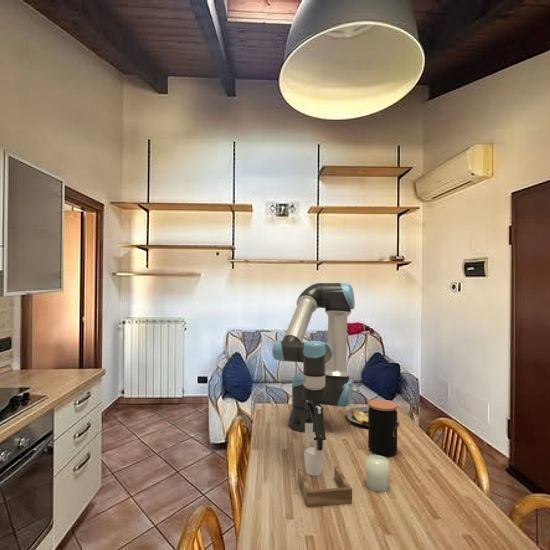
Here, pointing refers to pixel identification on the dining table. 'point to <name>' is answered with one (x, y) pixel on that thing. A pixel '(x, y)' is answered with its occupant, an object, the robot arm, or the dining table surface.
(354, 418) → the food plate
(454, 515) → the dining table surface
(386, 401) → the coffee jar
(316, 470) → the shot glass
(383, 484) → the cream rounded cylinder
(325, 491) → the bay
